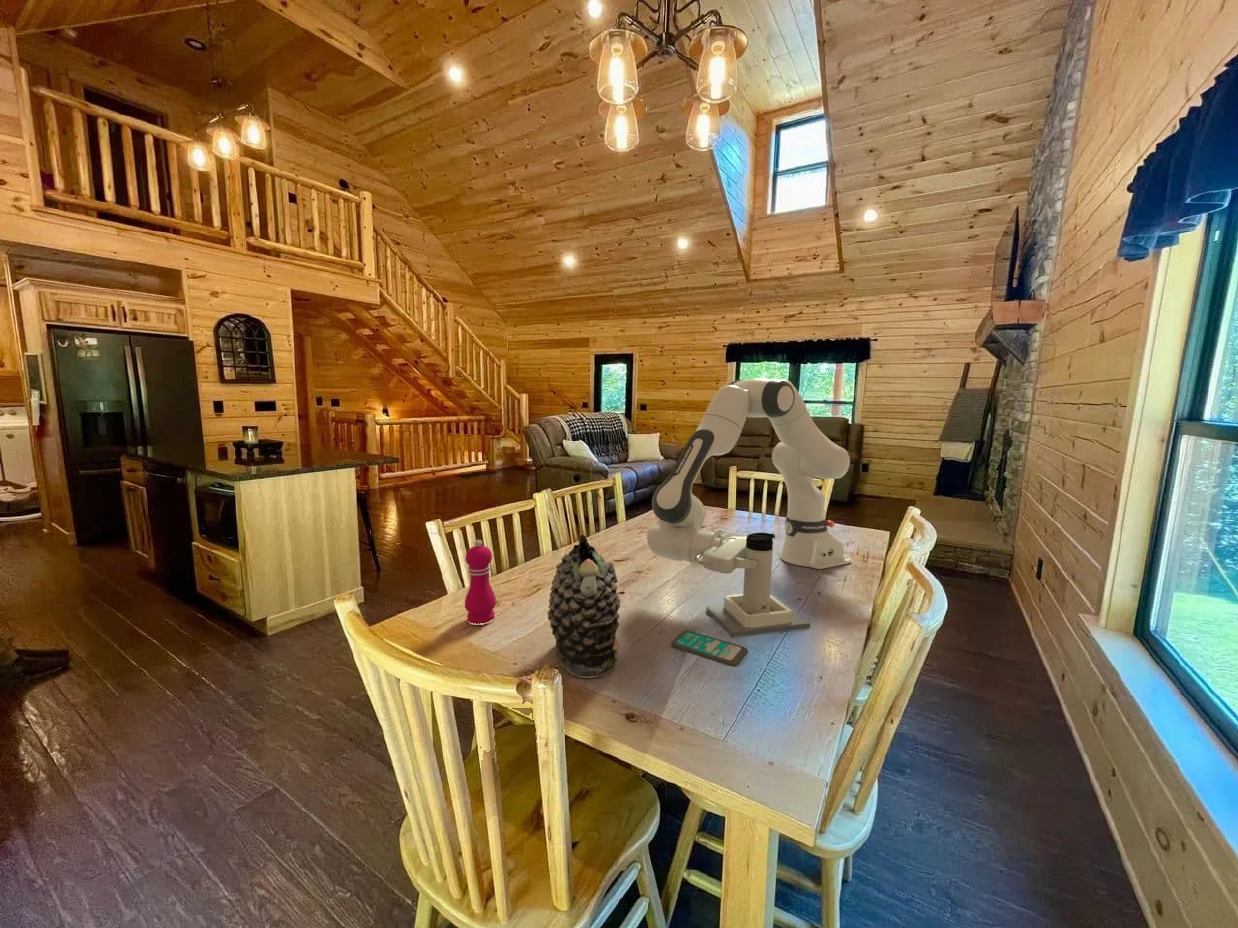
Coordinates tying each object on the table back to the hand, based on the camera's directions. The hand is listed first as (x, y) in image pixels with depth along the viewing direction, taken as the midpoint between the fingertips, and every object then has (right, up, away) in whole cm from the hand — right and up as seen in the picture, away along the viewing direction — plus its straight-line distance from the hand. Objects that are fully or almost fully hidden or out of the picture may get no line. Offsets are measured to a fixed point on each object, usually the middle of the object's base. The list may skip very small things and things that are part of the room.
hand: (762, 558), depth 118 cm
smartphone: (-15, -18, -11) cm, 26 cm away
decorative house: (-41, -18, -15) cm, 47 cm away
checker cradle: (-1, -15, +3) cm, 16 cm away
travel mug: (-1, -14, +3) cm, 14 cm away
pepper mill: (-67, -15, +1) cm, 69 cm away
